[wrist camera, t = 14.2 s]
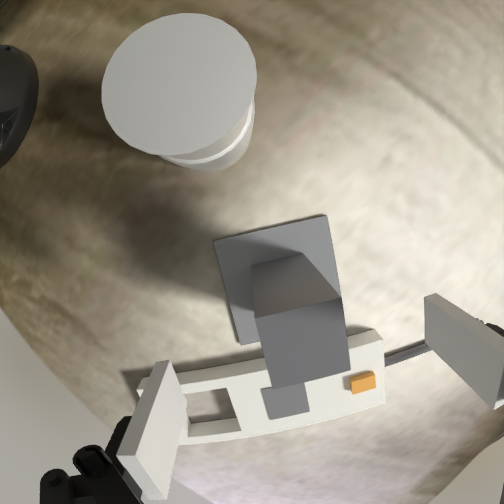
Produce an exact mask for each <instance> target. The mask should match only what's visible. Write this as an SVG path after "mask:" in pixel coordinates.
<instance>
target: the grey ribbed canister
mask: <svg viewBox="0 0 504 504" xmlns="http://www.w3.org/2000/svg"><path fill="white" fill-rule="evenodd" d="M256 82H257V73H256V63H255V58H254V56H253V54H252V51H251V49H250V47H249V44H248V43H247V41H246V40H245V39H244V38H243V37H242V36H241V35H240V33H239V32H238V31H237V30H236V29H235V28H233V27H231V26H230V25H228V24H227V23H225V22H224V21H222V20H220V19H217V18H214V17H210V16H207V15H204V14H192V13H181V14H175V15H169V16H164V17H162V18H159V19H157V20H154V21H152V22H149V23H147V24H145V25H144V26H142V27H141V28H139V29H138V30H136V31H135V32H133V33H132V34H131V35H129V36H128V37H127V38H126V40H125V41H124V42H123V43H122V44H121V45H120V46H119V47H118V48H117V49H116V51H115V53H114V54H113V56H112V58H111V60H110V61H109V63H108V65H107V67H106V71H105V74H104V78H103V81H102V105H103V109H104V112H105V116H106V119H107V121H108V122H109V124H110V125H111V127H112V129H113V130H114V132H115V133H116V134H117V135H118V136H119V137H120V138H121V139H123V140H124V141H125V142H126V143H128V144H129V145H130V146H132V147H135V148H137V149H139V150H142V151H144V152H146V153H149V154H154V155H159V156H160V157H162V158H163V159H165V160H167V161H170V162H172V163H174V164H177V165H180V166H183V167H185V168H188V169H193V170H196V171H202V172H214V171H220V170H222V169H225V168H228V167H230V166H231V165H232V164H234V163H235V162H237V161H238V160H239V159H240V158H241V157H242V155H243V154H244V153H245V152H246V150H247V148H248V145H249V143H250V140H251V134H252V129H253V124H254V113H255V105H254V92H255V87H256Z"/></svg>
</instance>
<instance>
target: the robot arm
mask: <svg viewBox="0 0 504 504" xmlns="http://www.w3.org/2000/svg"><path fill="white" fill-rule="evenodd" d="M11 1H12V0H0V13H1V12H2V11H3V10H4V9H5V8H6V7H7V5H8V4H9V3H10V2H11ZM37 97H38V73H37V69H36V66H35V63H34V61H33V60H32V58H31V57H30V56H29V55H28V54H27V53H25V52H24V51H22V50H20V49H18V48H16V47H14V46H10V45H0V168H1V167H2V166H4V165H5V164H6V163H7V162H8V161H9V160H10V158H11V157H12V156H13V155H14V154H15V152H16V151H17V149H18V148H19V146H20V145H21V143H22V141H23V139H24V137H25V135H26V133H27V131H28V129H29V126H30V124H31V121H32V118H33V115H34V111H35V107H36V103H37ZM424 312H425V343H426V344H427V345H428V346H429V347H430V348H431V349H432V350H433V351H434V352H435V353H436V354H437V355H438V356H439V357H440V358H441V359H442V360H443V361H445V362H446V363H447V364H448V365H449V366H450V367H451V368H452V369H453V370H454V371H455V372H456V373H457V374H458V375H459V376H460V377H461V378H462V379H463V380H464V381H465V382H466V383H467V384H468V385H469V386H470V387H471V388H472V389H473V390H474V391H475V392H476V393H477V394H478V395H479V396H480V397H481V398H482V399H483V400H484V401H485V402H486V403H487V404H488V405H489V406H490V407H491V408H492V409H493V410H495V409H497V408H498V407H500V406H502V405H503V404H504V330H503V329H502V328H500V327H499V326H497V325H493V324H490V323H487V324H483V323H482V322H480V321H479V320H477V319H476V318H474V317H473V316H471V315H469V314H468V313H466V312H465V311H463V310H462V309H460V308H459V307H457V306H456V305H454V304H452V303H451V302H449V301H448V300H446V299H445V298H443V297H441V296H440V295H438V294H437V293H435V294H432V295H429V296H426V297H424ZM186 406H187V400H186V398H185V396H184V393H183V391H182V389H181V386H180V384H179V381H178V379H177V376H176V374H175V371H174V369H173V366H172V364H171V361H170V360H166V361H159V362H156V363H155V365H154V367H153V370H152V372H151V374H150V376H149V379H148V381H147V383H146V385H145V388H144V390H143V392H142V395H141V397H140V399H139V402H138V404H137V406H136V409H135V411H134V413H133V416H124V417H123V418H122V419H121V421H120V422H119V423H118V424H117V425H116V428H115V430H114V433H113V434H112V436H111V440H110V441H109V443H108V445H107V447H106V449H105V451H104V450H103V449H102V448H101V447H100V446H97V445H88V446H85V447H83V448H81V449H79V450H78V451H77V452H76V454H75V455H74V457H73V464H74V465H75V467H76V468H77V469H78V471H79V472H80V473H81V475H76V476H71V477H69V476H68V475H67V473H66V472H65V471H64V470H61V469H53V470H50V471H48V472H47V473H45V474H44V475H43V477H42V478H41V481H40V504H144V503H143V502H142V501H141V500H140V499H141V495H142V492H143V493H144V494H145V496H146V497H147V498H148V499H149V500H167V496H168V491H169V486H170V481H171V476H172V471H173V466H174V462H175V457H176V452H177V447H178V443H179V438H180V433H181V429H182V424H183V420H184V415H185V411H186ZM500 504H504V485H503V491H502V496H501V500H500Z"/></svg>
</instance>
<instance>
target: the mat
mask: <svg viewBox="0 0 504 504" xmlns="http://www.w3.org/2000/svg"><path fill="white" fill-rule="evenodd" d="M213 243H214V247H215V251H216V255H217V259H218V263H219V266H220V270H221V274H222V278H223V282H224V286H225V289H226V293H227V297H228V301H229V304H230V308H231V312H232V315H233V319H234V323H235V326H236V330H237V333H238V337H239V341H240V344H241V345H245V344H250V343H255V342H260V338H259V334H258V331H257V327H256V323H255V319H254V303H253V287H252V270H251V265H254V264H258V263H263V262H267V261H271V260H276V259H280V258H284V257H289V256H293V255H297V254H301V253H304V255H305V256H306V257H307V258H308V259H309V260H310V261H311V263H312V264H313V265H314V266H315V267H316V268H317V269H318V271H319V272H320V273H321V274H322V275H323V276H324V278H325V279H326V280H327V281H328V282H329V283H330V285H331V286H332V287H333V288H334V289H335V290H336V291H337V293H338V294H339V295H340V296H341V291H340V285H339V279H338V273H337V267H336V261H335V255H334V249H333V244H332V239H331V233H330V228H329V223H328V218H327V215H325V216H320V217H316V218H311V219H307V220H302V221H298V222H293V223H289V224H285V225H280V226H276V227H272V228H267V229H263V230H259V231H254V232H250V233H246V234H241V235H237V236H233V237H229V238H224V239H220V240H216V241H213Z"/></svg>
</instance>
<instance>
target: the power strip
mask: <svg viewBox="0 0 504 504" xmlns="http://www.w3.org/2000/svg"><path fill="white" fill-rule="evenodd" d="M480 322H482V323H483V324H484V322H483V321H482V320H480ZM347 340H348V348H349V356H350V365H351V370H350V371H346V372H343V373H339V374H336V375H332V376H328V377H324V378H320V379H317V380H313V381H309V382H304V383H300V384H296V385H292V386H287V387H283V388H278V389H274V390H273V389H272V385H271V381H270V377H269V374H268V370H267V366H266V362H265V358H264V357H263V358H259V359H254V360H249V361H244V362H239V363H234V364H228V365H223V366H217V367H212V368H206V369H200V370H194V371H187V372H181V373H175V374H176V376H177V379H178V381H179V384H180V386H181V389H182V391H183V393H184V394H187V393H194V392H201V391H208V390H214V389H220V388H226V387H227V390H228V393H229V396H230V399H231V402H232V405H233V408H234V410H235V413H236V416H237V418H230V419H224V420H217V421H209V422H201V423H193V424H191V423H190V420H189V418H188V416H187V414H186V411H185V415H184V420H183V424H182V429H181V433H180V438H179V443H178V445H190V444H201V443H210V442H218V441H226V440H233V439H240V438H247V437H253V436H259V435H264V434H270V433H275V432H280V431H285V430H290V429H294V428H299V427H303V426H307V425H312V424H316V423H320V422H324V421H327V420H331V419H335V418H339V417H342V416H346V415H349V414H353V413H356V412H359V411H362V410H366V409H369V408H372V407H375V406H378V405H381V404H384V403H386V389H385V367H386V366H389V365H392V364H395V363H398V362H401V361H404V360H407V359H409V358H412V357H415V356H418V355H420V354H423V353H426V352H428V351H431V350H432V349H431V348H430V347H429V346H428V345H427V344H426V343H424V344H422V345H419V346H416V347H413V348H411V349H408V350H405V351H402V352H399V353H396V354H393V355H390V356H387V357H384V345H383V338H382V337H381V336H380V335H379V334H378V333H377V332H376V330H375V329H373V330H369V331H366V332H362V333H359V334H356V335H352V336H349V337H347ZM148 379H149V377H144V378H142V380H141V382H140V384H139V386H138V388H137V392H138V394H139V396H140V397H141V395H142V392H143V390H144V388H145V385H146V383H147V381H148Z"/></svg>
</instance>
